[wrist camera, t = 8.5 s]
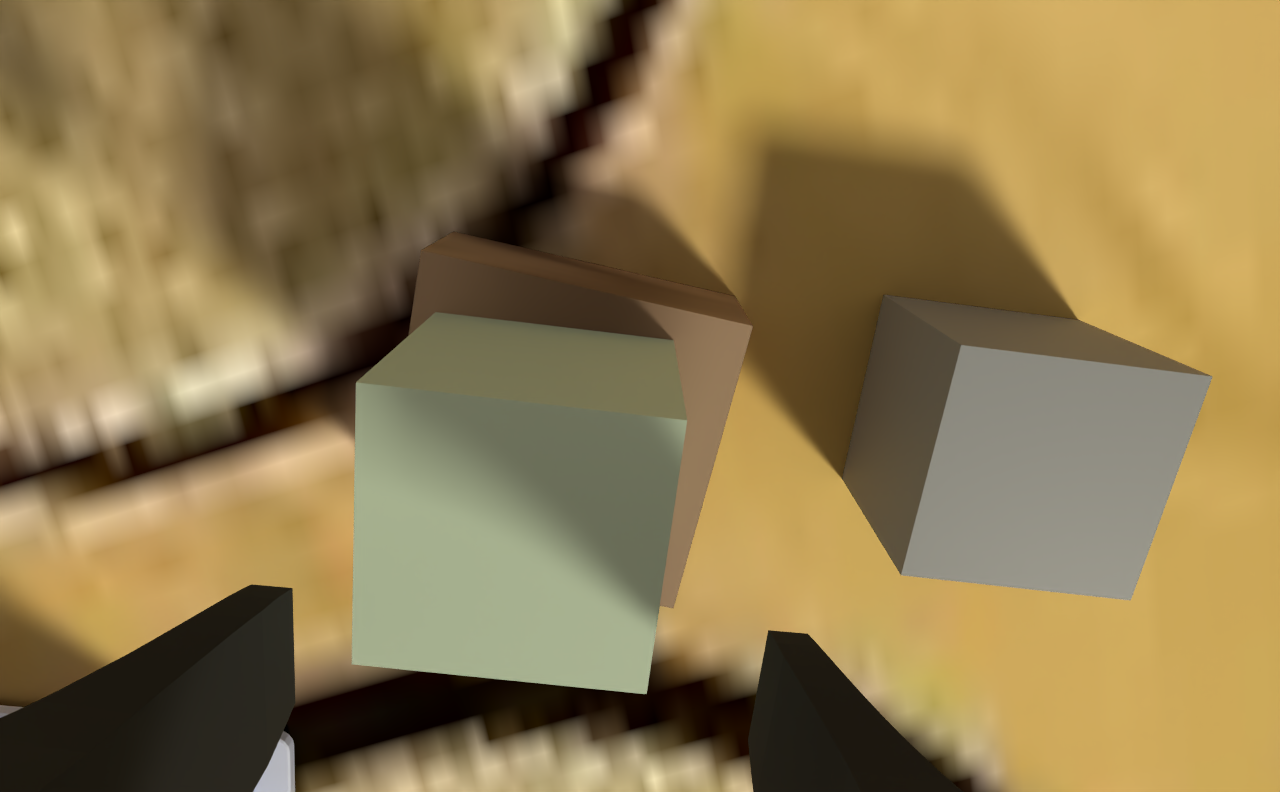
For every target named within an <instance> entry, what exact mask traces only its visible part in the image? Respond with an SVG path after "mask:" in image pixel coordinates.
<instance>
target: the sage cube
mask: <svg viewBox="0 0 1280 792" xmlns="http://www.w3.org/2000/svg"><path fill="white" fill-rule="evenodd" d="M686 426H687V416H686V410H685V404H684V398H683V392H682V386H681V381H680V375H679V369H678V363H677V357H676V351H675V345H674V340H668V339H659V338H651V337H642V336H634V335H625V334H617V333H609V332H600V331H592V330H583V329H575V328H566V327H558V326H550V325H541V324H533V323H524V322H516V321H507V320H498V319H490V318H481V317H473V316H464V315H456V314H447V313H439V312H435V313H434V314H433V315H432V316H431V317H429V318H428V319H427V320H426V321H425V322H424V323H423V324H422V325H420V326H419V327H418V328H417V329H416V330H415V331H414V332H412V333H411V334H410V335H409V336H408V337H407V338H406V339H405V340H403V341H402V342H401V343H400V344H399V345H398V346H397V347H395V348H394V349H393V350H392V351H391V352H390V353H389V354H388V355H386V356H385V357H384V358H383V359H382V360H381V361H380V362H378V363H377V364H376V365H375V366H374V367H373V368H372V369H371V370H369V371H368V372H367V373H366V374H365V375H364V376H363V377H361V378H360V379H359V380H358V381H357V382H356V412H355V481H354V550H353V619H352V664H355V665H364V666H374V667H384V668H394V669H404V670H414V671H424V672H434V673H443V674H453V675H463V676H473V677H483V678H493V679H503V680H512V681H522V682H532V683H542V684H552V685H562V686H572V687H582V688H591V689H601V690H611V691H621V692H631V693H641V694H647V687H648V680H649V674H650V667H651V660H652V654H653V647H654V640H655V634H656V627H657V620H658V613H659V607H660V600H661V593H662V587H663V580H664V573H665V566H666V560H667V553H668V546H669V540H670V533H671V526H672V519H673V513H674V506H675V499H676V493H677V486H678V479H679V473H680V466H681V459H682V452H683V446H684V439H685V432H686Z"/></svg>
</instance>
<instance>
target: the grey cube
mask: <svg viewBox="0 0 1280 792" xmlns="http://www.w3.org/2000/svg"><path fill="white" fill-rule="evenodd" d="M1211 379H1212V376H1210V375H1208V374H1205V373H1203V372H1201V371H1198V370H1196V369H1193V368H1191V367H1189V366H1186V365H1184V364H1182V363H1179V362H1177V361H1175V360H1172V359H1170V358H1167V357H1165V356H1163V355H1160V354H1158V353H1156V352H1153V351H1151V350H1149V349H1146V348H1144V347H1141V346H1139V345H1137V344H1134V343H1132V342H1130V341H1127V340H1125V339H1123V338H1120V337H1118V336H1115V335H1113V334H1111V333H1108V332H1106V331H1104V330H1101V329H1099V328H1097V327H1094V326H1092V325H1089V324H1087V323H1085V322H1082V321H1080V320H1077V319H1069V318H1061V317H1053V316H1046V315H1038V314H1030V313H1022V312H1014V311H1007V310H999V309H991V308H983V307H976V306H968V305H960V304H952V303H945V302H937V301H929V300H921V299H913V298H906V297H898V296H890V295H883V299H882V304H881V308H880V312H879V317H878V321H877V326H876V330H875V335H874V339H873V343H872V348H871V352H870V357H869V361H868V366H867V370H866V374H865V379H864V383H863V388H862V392H861V397H860V401H859V405H858V410H857V414H856V419H855V423H854V428H853V432H852V436H851V441H850V445H849V450H848V454H847V459H846V463H845V467H844V472H843V476H842V479H843V481H844V483H845V484H846V486H847V488H848V489H849V491H850V492H851V494H852V496H853V497H854V499H855V501H856V502H857V504H858V506H859V507H860V509H861V510H862V512H863V514H864V515H865V517H866V519H867V520H868V522H869V524H870V525H871V527H872V528H873V530H874V532H875V533H876V535H877V537H878V538H879V540H880V542H881V543H882V545H883V546H884V548H885V550H886V551H887V553H888V555H889V556H890V558H891V560H892V561H893V563H894V564H895V566H896V568H897V569H898V571H899V573H900V574H901V575H904V576H913V577H922V578H931V579H941V580H950V581H959V582H968V583H977V584H986V585H995V586H1004V587H1014V588H1023V589H1032V590H1041V591H1050V592H1059V593H1068V594H1077V595H1087V596H1096V597H1105V598H1114V599H1123V600H1131V598H1132V595H1133V592H1134V590H1135V587H1136V584H1137V581H1138V579H1139V576H1140V573H1141V571H1142V568H1143V565H1144V562H1145V560H1146V557H1147V554H1148V551H1149V549H1150V546H1151V543H1152V540H1153V538H1154V535H1155V532H1156V530H1157V527H1158V524H1159V521H1160V519H1161V516H1162V513H1163V510H1164V508H1165V505H1166V502H1167V499H1168V497H1169V494H1170V491H1171V489H1172V486H1173V483H1174V480H1175V478H1176V475H1177V472H1178V469H1179V467H1180V464H1181V461H1182V458H1183V456H1184V453H1185V450H1186V448H1187V445H1188V442H1189V439H1190V437H1191V434H1192V431H1193V428H1194V426H1195V423H1196V420H1197V417H1198V415H1199V412H1200V409H1201V407H1202V404H1203V401H1204V398H1205V396H1206V393H1207V390H1208V387H1209V385H1210V382H1211Z"/></svg>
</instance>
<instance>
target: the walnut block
mask: <svg viewBox="0 0 1280 792" xmlns="http://www.w3.org/2000/svg"><path fill="white" fill-rule="evenodd" d="M435 312H439V313H447V314H456V315H464V316H473V317H481V318H490V319H498V320H507V321H516V322H524V323H533V324H541V325H550V326H558V327H566V328H575V329H583V330H592V331H600V332H609V333H617V334H625V335H634V336H642V337H651V338H659V339H668V340H674V345H675V351H676V357H677V363H678V369H679V375H680V381H681V386H682V392H683V398H684V404H685V410H686V416H687V426H686V432H685V439H684V446H683V452H682V459H681V466H680V473H679V479H678V486H677V493H676V499H675V506H674V513H673V519H672V526H671V533H670V540H669V546H668V553H667V560H666V566H665V573H664V580H663V587H662V593H661V600H660V606H664V607H669V608H673V607H674V604H675V600H676V597H677V593H678V590H679V586H680V583H681V579H682V576H683V572H684V569H685V565H686V561H687V558H688V554H689V551H690V547H691V544H692V540H693V537H694V533H695V530H696V526H697V523H698V519H699V515H700V512H701V508H702V505H703V501H704V498H705V494H706V491H707V487H708V484H709V480H710V476H711V473H712V469H713V466H714V462H715V459H716V455H717V452H718V448H719V445H720V441H721V438H722V434H723V430H724V427H725V423H726V420H727V416H728V413H729V409H730V406H731V402H732V399H733V395H734V392H735V388H736V384H737V381H738V377H739V374H740V370H741V367H742V363H743V360H744V356H745V353H746V349H747V346H748V342H749V338H750V335H751V331H752V328H753V325H752V324H751V322H750V320H749V319H748V317H747V315H746V314H745V312H744V310H743V309H742V307H741V305H740V304H739V302H738V300H737V299H736V297H735V296H732V295H728V294H723V293H719V292H715V291H710V290H706V289H702V288H697V287H693V286H689V285H684V284H680V283H676V282H671V281H667V280H662V279H658V278H654V277H649V276H645V275H641V274H636V273H632V272H628V271H623V270H619V269H615V268H610V267H606V266H602V265H597V264H593V263H589V262H584V261H580V260H576V259H571V258H567V257H563V256H558V255H554V254H550V253H545V252H541V251H536V250H532V249H528V248H523V247H519V246H515V245H510V244H506V243H502V242H497V241H493V240H489V239H484V238H480V237H476V236H471V235H467V234H463V233H458V232H452V233H451V234H449V235H447V236H445V237H444V238H442V239H440V240H438V241H437V242H435V243H433V244H431V245H430V246H428V247H426V248H424V249H423V250H421V254H420V261H419V267H418V274H417V281H416V288H415V295H414V301H413V308H412V315H411V322H410V329H409V335H410V334H411V333H412V332H414V331H415V330H416V329H417V328H418V327H419V326H420V325H422V324H423V323H424V322H425V321H426V320H427V319H428V318H429V317H431V316H432V315H433V314H434V313H435ZM409 335H408V336H409Z"/></svg>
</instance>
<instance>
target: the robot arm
mask: <svg viewBox="0 0 1280 792" xmlns="http://www.w3.org/2000/svg"><path fill="white" fill-rule="evenodd" d="M294 704H295V674H294V633H293V593H292V588H284V587H273V586H261V585H249V586H247V587H245V588H243V589H241V590H239V591H237V592H236V593H234V594H232V595H230V596H228V597H227V598H225V599H223V600H221V601H219V602H218V603H216V604H214V605H213V606H211V607H209V608H207V609H206V610H204V611H202V612H200V613H199V614H197V615H195V616H194V617H192V618H190V619H189V620H187V621H185V622H183V623H182V624H180V625H178V626H176V627H175V628H173V629H171V630H169V631H168V632H166V633H164V634H162V635H161V636H159V637H157V638H155V639H154V640H152V641H150V642H148V643H147V644H145V645H143V646H141V647H140V648H138V649H136V650H135V651H133V652H131V653H129V654H127V655H125V656H124V657H122V658H120V659H118V660H116V661H114V662H112V663H110V664H108V665H106V666H105V667H103V668H101V669H99V670H97V671H95V672H93V673H91V674H89V675H87V676H85V677H84V678H82V679H80V680H78V681H76V682H74V683H72V684H70V685H68V686H66V687H64V688H63V689H61V690H59V691H57V692H55V693H53V694H51V695H49V696H47V697H45V698H42V699H40V700H38V701H36V702H34V703H32V704H30V705H28V706H25V707H16V706H5V705H0V792H295V768H294V742H293V739H292V738H291V736H290V735H289V734H288V733H286V732H284V728H285V726H286V723H287V721H288V719H289V716H290V714H291V711H292V709H293V707H294ZM748 743H749V753H750V764H751V774H752V783H753V791H754V792H963V791H961V790H960V789H959V788H958V787H957V786H956V785H954V784H953V783H952V782H951V781H950V780H949V779H948V778H946V777H945V776H944V775H943V774H942V773H941V772H940V771H938V770H937V769H936V768H935V767H934V766H933V765H932V764H931V763H930V762H929V761H928V760H927V759H926V758H925V757H924V756H923V755H921V754H920V753H919V752H918V751H917V750H916V749H915V748H914V747H913V746H912V745H911V744H910V743H909V742H908V741H907V740H906V739H905V738H904V737H903V736H902V735H901V734H900V733H899V732H898V731H897V730H896V729H895V728H894V727H893V726H892V725H891V724H890V723H889V722H888V721H887V720H886V719H885V718H884V717H883V716H882V715H881V714H880V713H879V712H878V711H877V710H876V709H875V708H874V707H873V705H872V704H871V703H870V702H869V701H868V700H867V699H866V698H865V697H864V696H863V695H862V694H861V692H860V691H859V690H858V689H857V688H856V687H855V686H854V685H853V684H852V683H851V681H850V680H849V679H848V678H847V677H846V676H845V675H844V674H843V673H842V671H841V670H840V669H839V668H838V667H837V666H836V665H835V663H834V662H833V661H832V660H831V659H830V658H829V657H828V656H827V654H826V653H825V652H824V651H823V650H822V649H821V648H820V647H819V645H818V644H817V643H816V642H815V641H814V640H813V639H812V638H811V637H810V636H809V635H808V634H803V633H792V632H780V631H769V630H768V636H767V641H766V646H765V652H764V657H763V663H762V668H761V673H760V679H759V684H758V690H757V695H756V700H755V706H754V711H753V717H752V722H751V727H750V733H749V738H748Z"/></svg>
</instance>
